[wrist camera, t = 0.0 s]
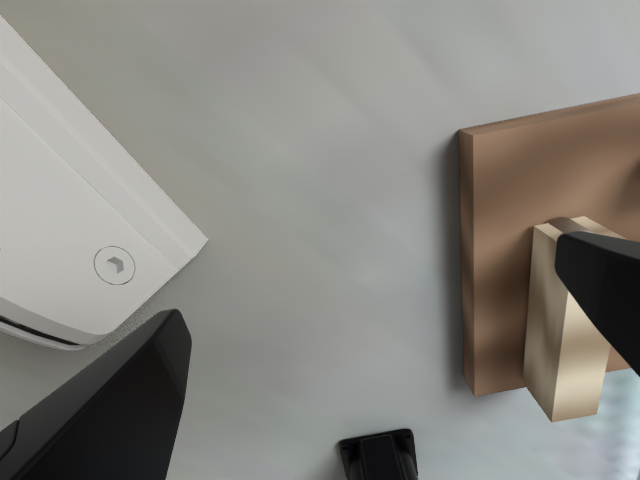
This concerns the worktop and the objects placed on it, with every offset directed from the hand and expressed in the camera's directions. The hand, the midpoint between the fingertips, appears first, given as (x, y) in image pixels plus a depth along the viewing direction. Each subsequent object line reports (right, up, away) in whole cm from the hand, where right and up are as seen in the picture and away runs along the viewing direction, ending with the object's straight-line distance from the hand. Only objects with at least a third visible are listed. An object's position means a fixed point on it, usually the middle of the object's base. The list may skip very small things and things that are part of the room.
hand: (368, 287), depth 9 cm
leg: (+14, -3, +16) cm, 22 cm away
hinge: (-16, +5, +13) cm, 21 cm away
